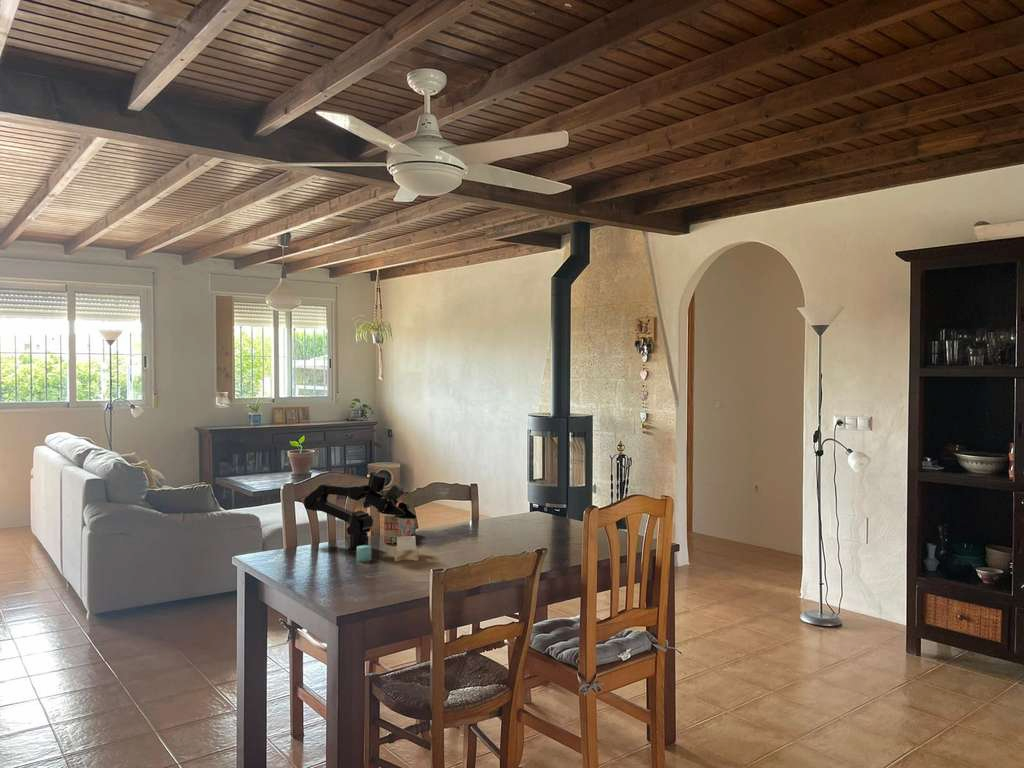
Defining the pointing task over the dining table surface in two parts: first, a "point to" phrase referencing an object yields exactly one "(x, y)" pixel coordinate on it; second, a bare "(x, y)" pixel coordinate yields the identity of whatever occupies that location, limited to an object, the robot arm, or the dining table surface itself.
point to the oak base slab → (406, 554)
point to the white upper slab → (406, 543)
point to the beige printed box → (397, 528)
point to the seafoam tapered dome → (363, 553)
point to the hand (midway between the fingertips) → (410, 515)
